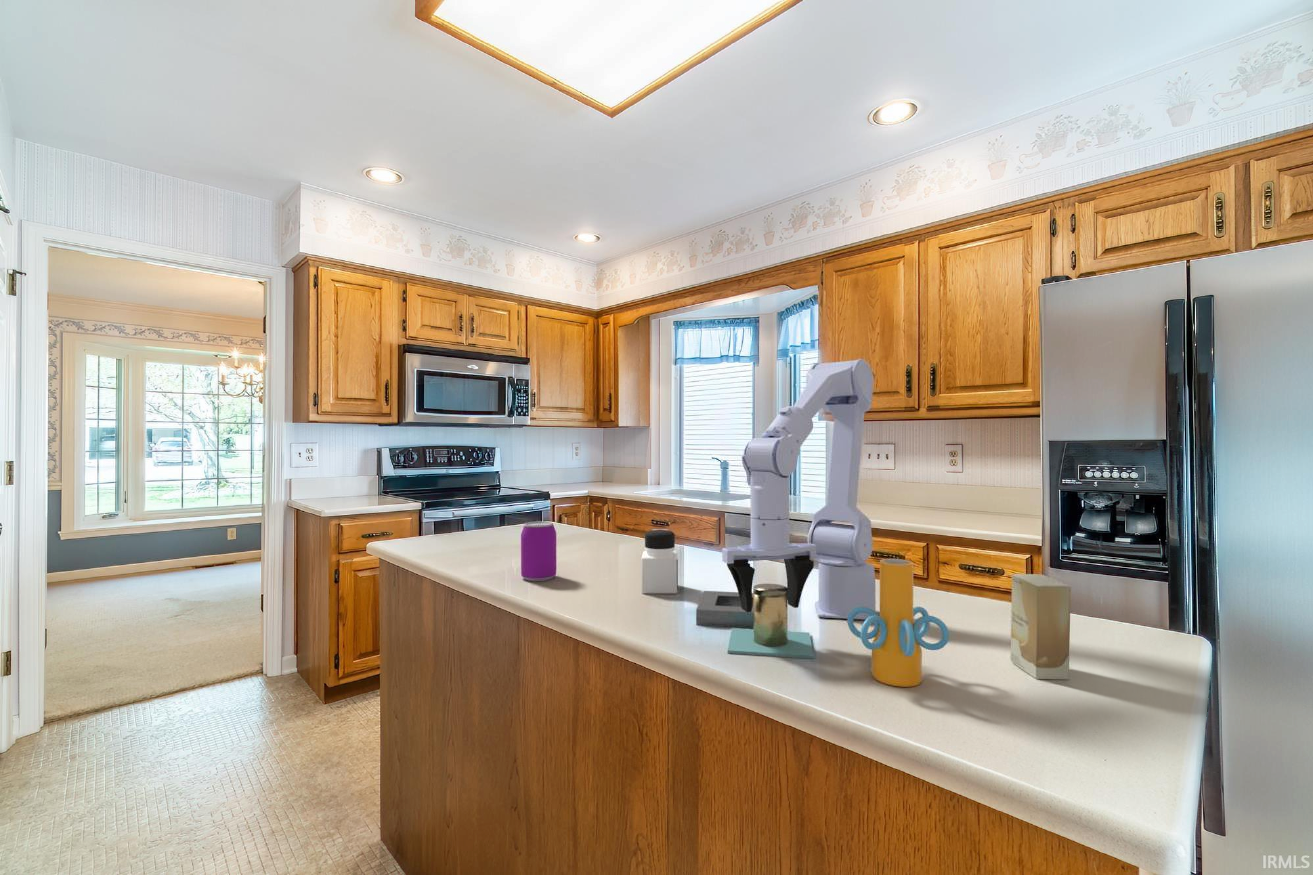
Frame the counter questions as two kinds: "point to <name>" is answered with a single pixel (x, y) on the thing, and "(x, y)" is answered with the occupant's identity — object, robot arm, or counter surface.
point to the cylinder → (897, 628)
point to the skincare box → (1040, 626)
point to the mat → (795, 647)
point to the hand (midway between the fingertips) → (770, 608)
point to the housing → (723, 610)
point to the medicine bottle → (659, 563)
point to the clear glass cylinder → (770, 615)
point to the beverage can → (538, 551)
